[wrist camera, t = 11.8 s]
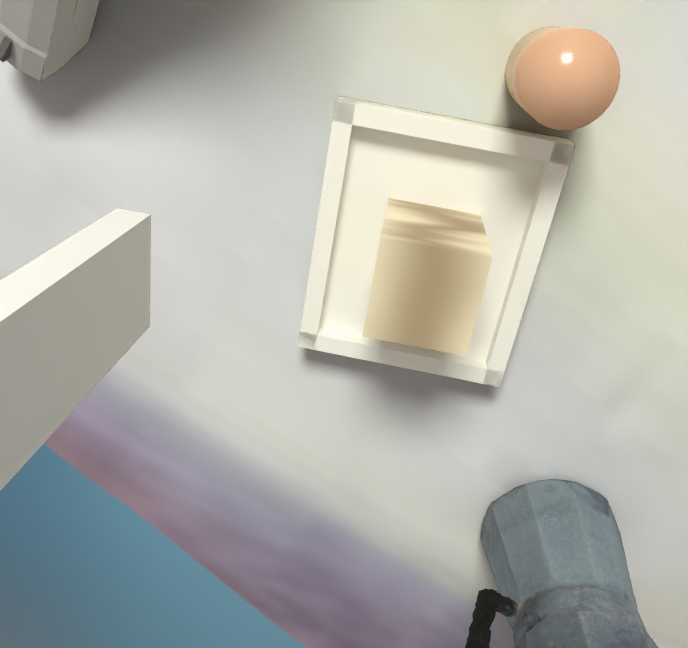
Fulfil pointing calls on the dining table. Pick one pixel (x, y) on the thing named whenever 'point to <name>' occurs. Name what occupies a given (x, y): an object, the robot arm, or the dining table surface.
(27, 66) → the handgun
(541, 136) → the tray
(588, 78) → the peach capsule
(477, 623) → the moka pot
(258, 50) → the dining table surface
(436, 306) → the birch block
